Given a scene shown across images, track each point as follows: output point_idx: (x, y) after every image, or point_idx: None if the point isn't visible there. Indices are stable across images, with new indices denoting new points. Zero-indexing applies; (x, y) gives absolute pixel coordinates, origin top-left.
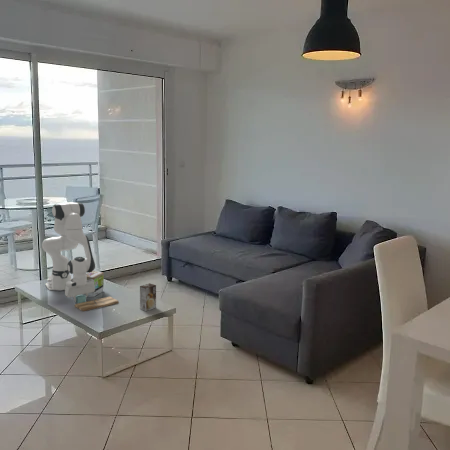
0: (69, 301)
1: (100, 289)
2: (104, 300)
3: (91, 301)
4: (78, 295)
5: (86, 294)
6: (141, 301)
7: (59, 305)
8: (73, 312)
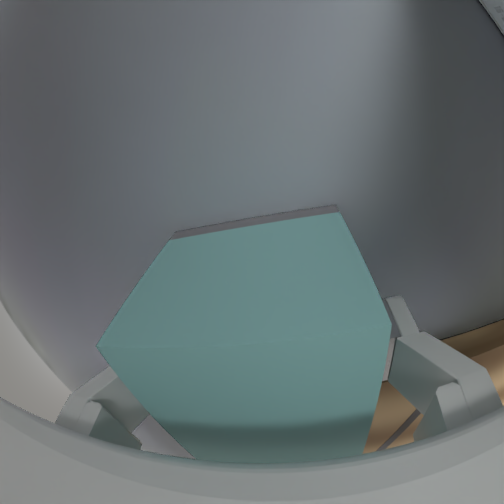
0: (87, 129)
1: None
2: (499, 390)
3: (402, 398)
4: (211, 400)
5: (426, 436)
6: None
7: (5, 255)
8: (157, 440)
